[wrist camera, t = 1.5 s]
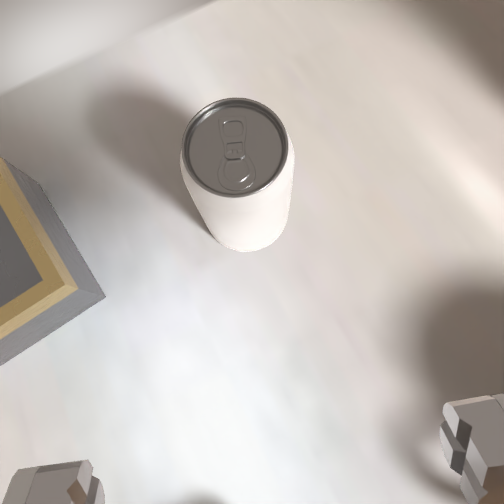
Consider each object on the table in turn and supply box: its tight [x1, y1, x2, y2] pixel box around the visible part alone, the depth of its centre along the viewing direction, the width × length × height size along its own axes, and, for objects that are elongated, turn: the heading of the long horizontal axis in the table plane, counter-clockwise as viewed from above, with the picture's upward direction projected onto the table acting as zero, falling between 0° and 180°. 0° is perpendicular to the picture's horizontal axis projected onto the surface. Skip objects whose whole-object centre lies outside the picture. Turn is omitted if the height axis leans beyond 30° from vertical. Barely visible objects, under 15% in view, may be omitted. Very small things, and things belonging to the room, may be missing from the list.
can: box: [180, 98, 295, 252], centre depth 30 cm, size 6×6×12 cm
